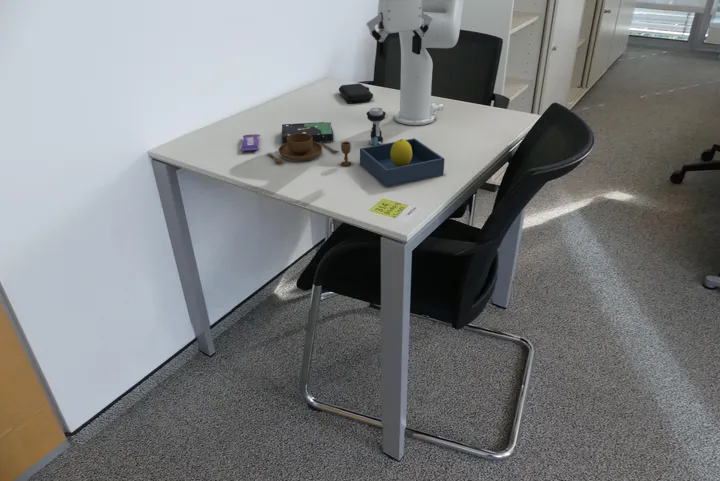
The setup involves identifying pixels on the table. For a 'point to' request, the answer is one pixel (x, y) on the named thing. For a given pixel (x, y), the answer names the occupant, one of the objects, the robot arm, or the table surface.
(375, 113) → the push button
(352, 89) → the carrying case
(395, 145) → the lemon
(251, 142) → the snack package
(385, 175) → the bin
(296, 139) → the place setting
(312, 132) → the disk drive
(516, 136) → the table surface
